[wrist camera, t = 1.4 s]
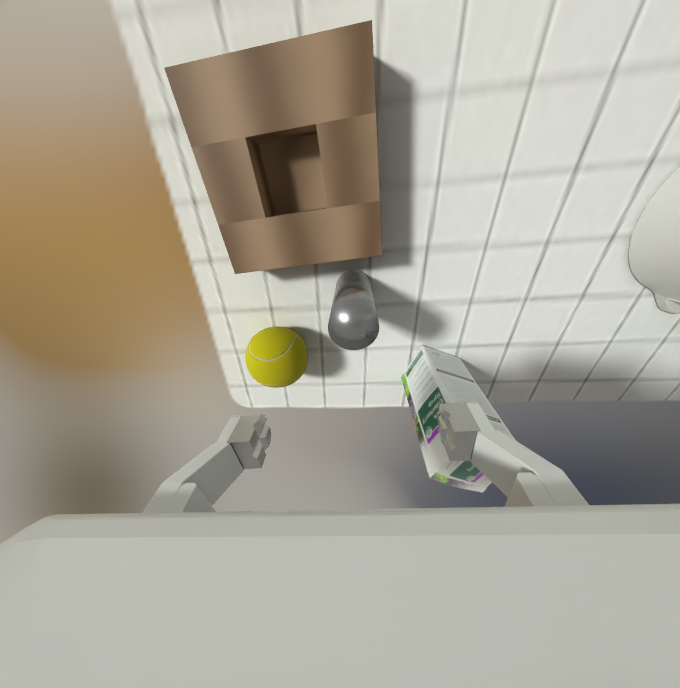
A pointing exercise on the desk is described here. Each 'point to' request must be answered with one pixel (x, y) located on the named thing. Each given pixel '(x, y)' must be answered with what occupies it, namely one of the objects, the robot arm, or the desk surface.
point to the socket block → (288, 147)
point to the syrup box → (424, 399)
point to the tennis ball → (276, 356)
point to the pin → (353, 312)
